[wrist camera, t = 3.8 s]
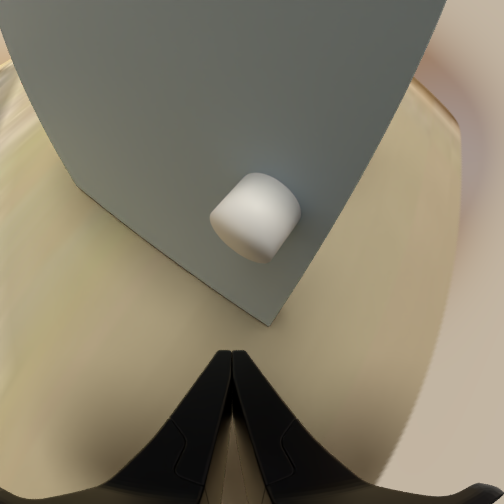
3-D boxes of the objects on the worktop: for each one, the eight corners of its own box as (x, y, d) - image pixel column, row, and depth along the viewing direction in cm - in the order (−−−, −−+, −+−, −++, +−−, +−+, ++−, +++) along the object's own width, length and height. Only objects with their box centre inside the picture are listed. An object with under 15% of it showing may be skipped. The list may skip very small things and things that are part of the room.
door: (256, 344, 16) (448, -8, 1) (65, 196, 19) (-30, 10, 4) (283, 304, 17) (450, -11, 2) (90, 171, 20) (16, -19, 5)
